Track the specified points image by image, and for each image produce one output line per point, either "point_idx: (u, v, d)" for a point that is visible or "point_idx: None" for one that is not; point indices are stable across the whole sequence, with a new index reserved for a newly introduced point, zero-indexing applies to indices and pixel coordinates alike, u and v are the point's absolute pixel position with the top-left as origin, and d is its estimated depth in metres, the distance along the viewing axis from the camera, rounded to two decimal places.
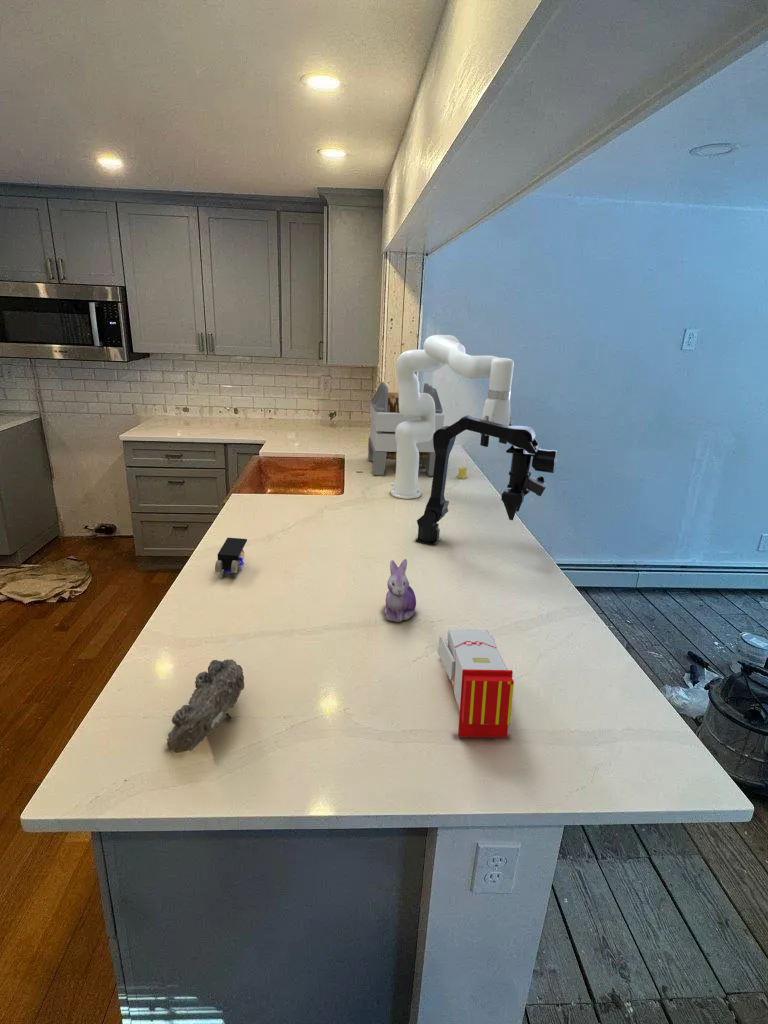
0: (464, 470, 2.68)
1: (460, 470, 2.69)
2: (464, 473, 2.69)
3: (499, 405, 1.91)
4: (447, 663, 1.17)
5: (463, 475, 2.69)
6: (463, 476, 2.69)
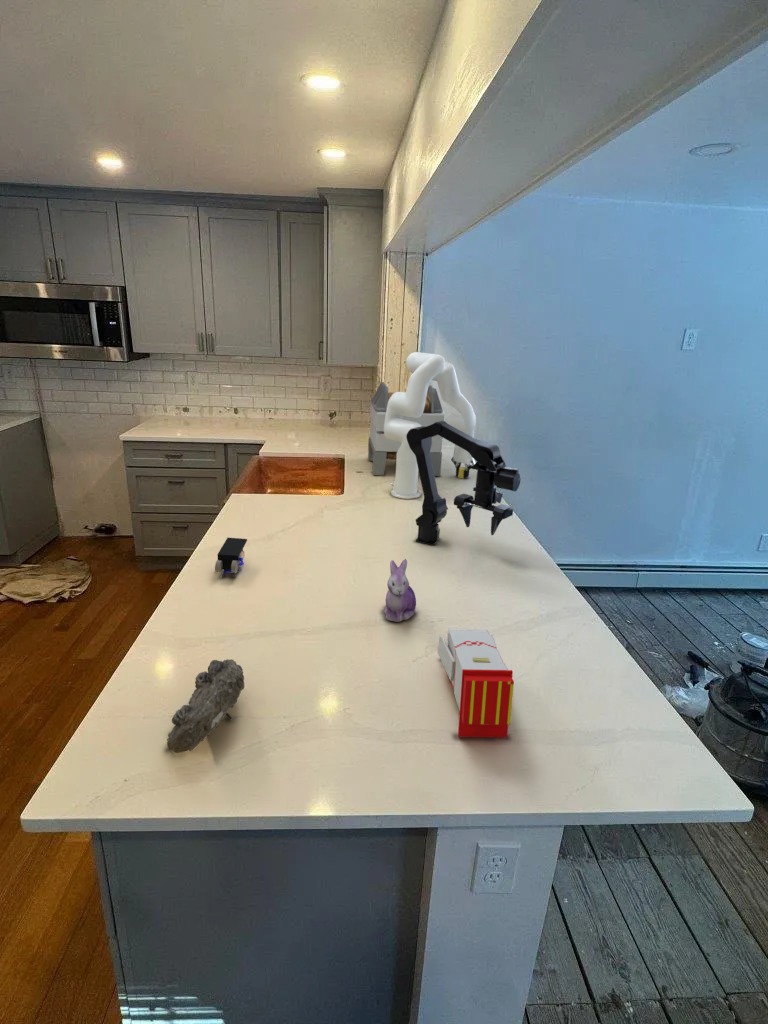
0: None
1: (460, 470, 2.69)
2: None
3: None
4: (447, 663, 1.17)
5: (463, 475, 2.69)
6: (463, 476, 2.69)
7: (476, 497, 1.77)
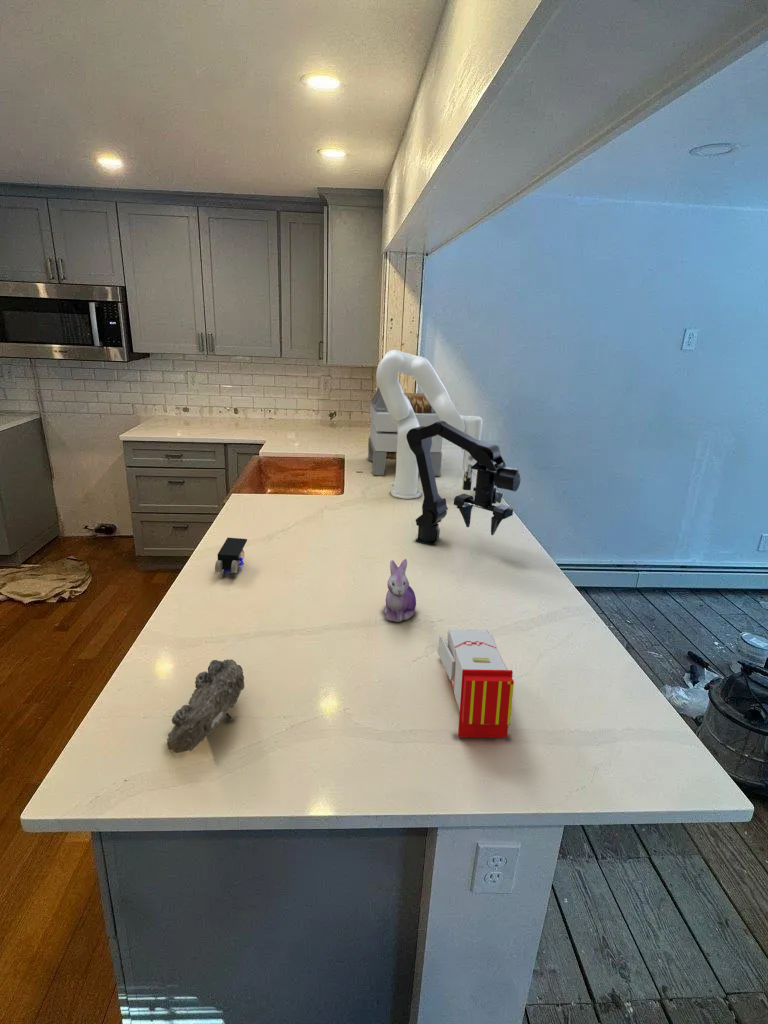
0: None
1: (463, 480, 2.40)
2: None
3: None
4: (447, 663, 1.17)
5: None
6: None
7: (476, 497, 1.77)
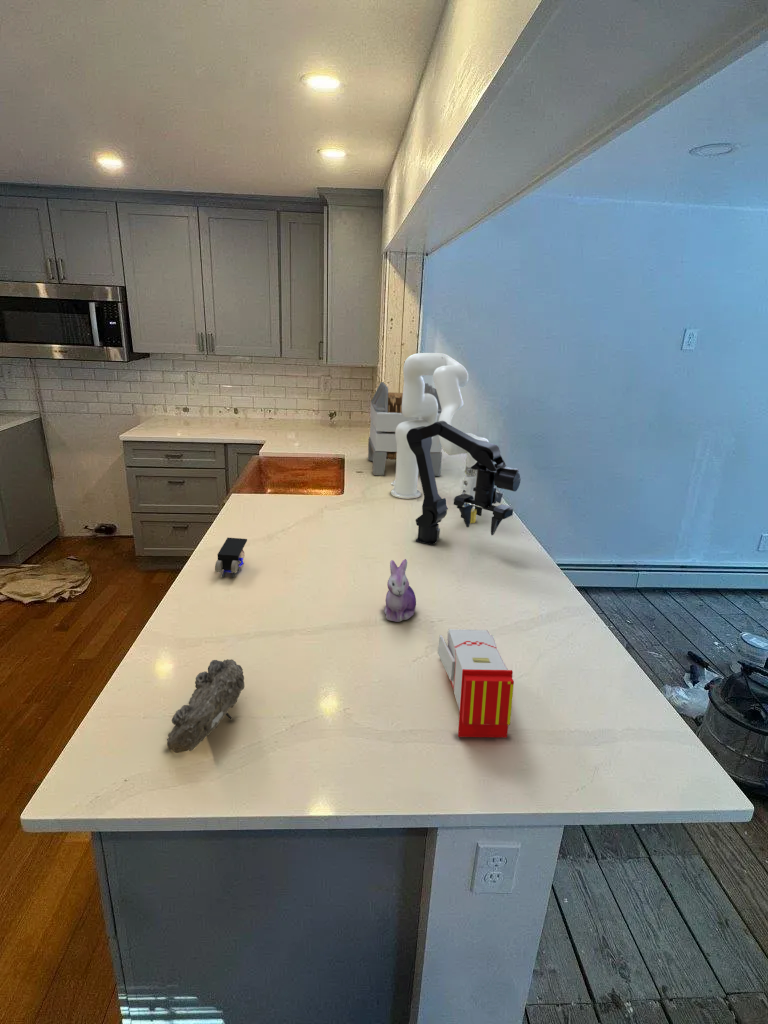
0: None
1: None
2: None
3: None
4: (447, 663, 1.17)
5: None
6: None
7: (476, 497, 1.77)
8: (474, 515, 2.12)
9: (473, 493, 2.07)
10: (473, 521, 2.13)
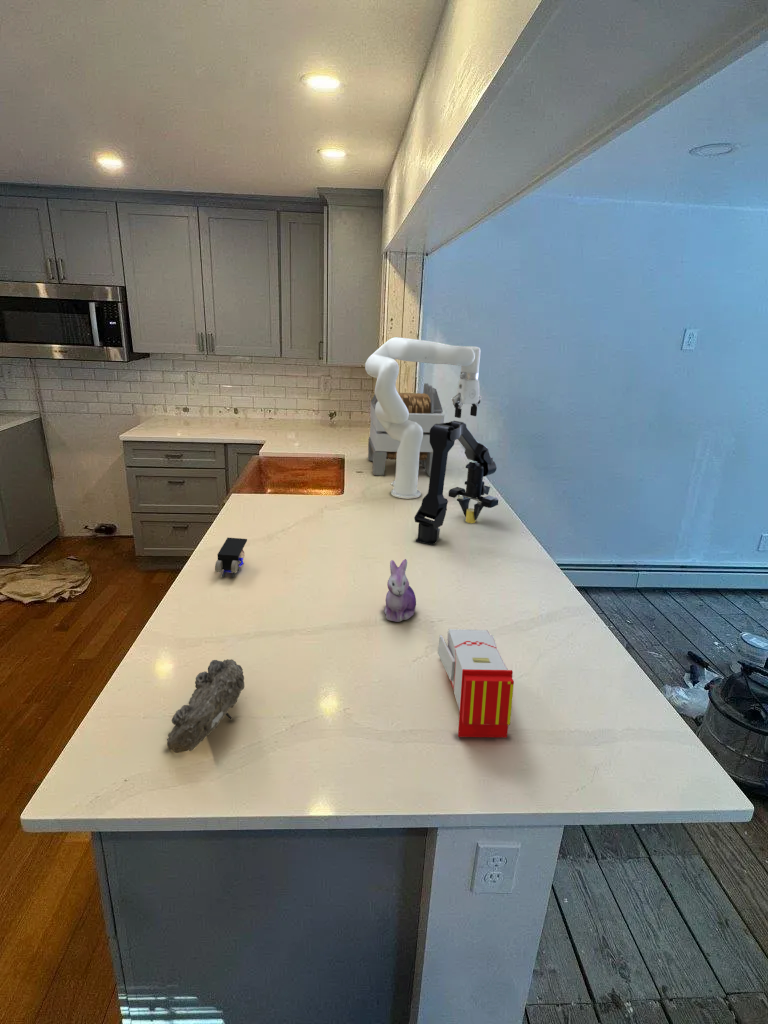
0: (466, 511, 2.13)
1: None
2: (466, 515, 2.14)
3: None
4: (447, 663, 1.17)
5: (466, 517, 2.14)
6: None
7: (467, 489, 2.09)
8: None
9: (467, 395, 2.40)
10: (473, 521, 2.13)
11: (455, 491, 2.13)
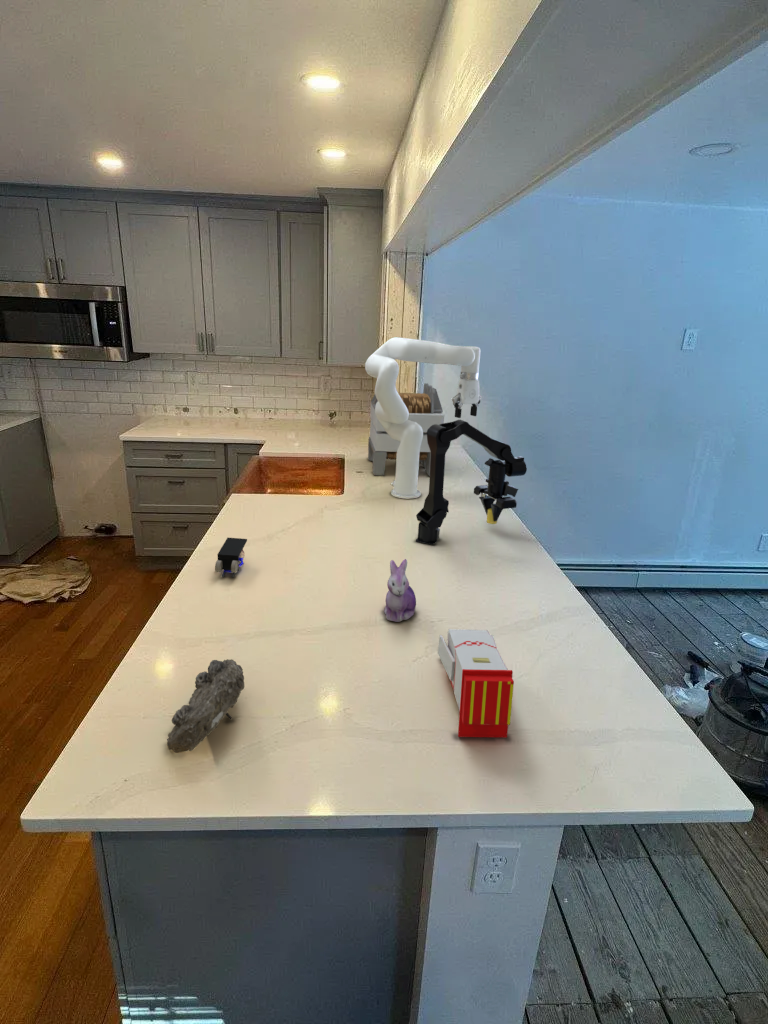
0: None
1: None
2: (487, 515, 2.03)
3: None
4: (447, 663, 1.17)
5: None
6: None
7: (487, 487, 1.99)
8: None
9: (467, 395, 2.40)
10: (492, 522, 2.02)
11: (479, 488, 2.05)
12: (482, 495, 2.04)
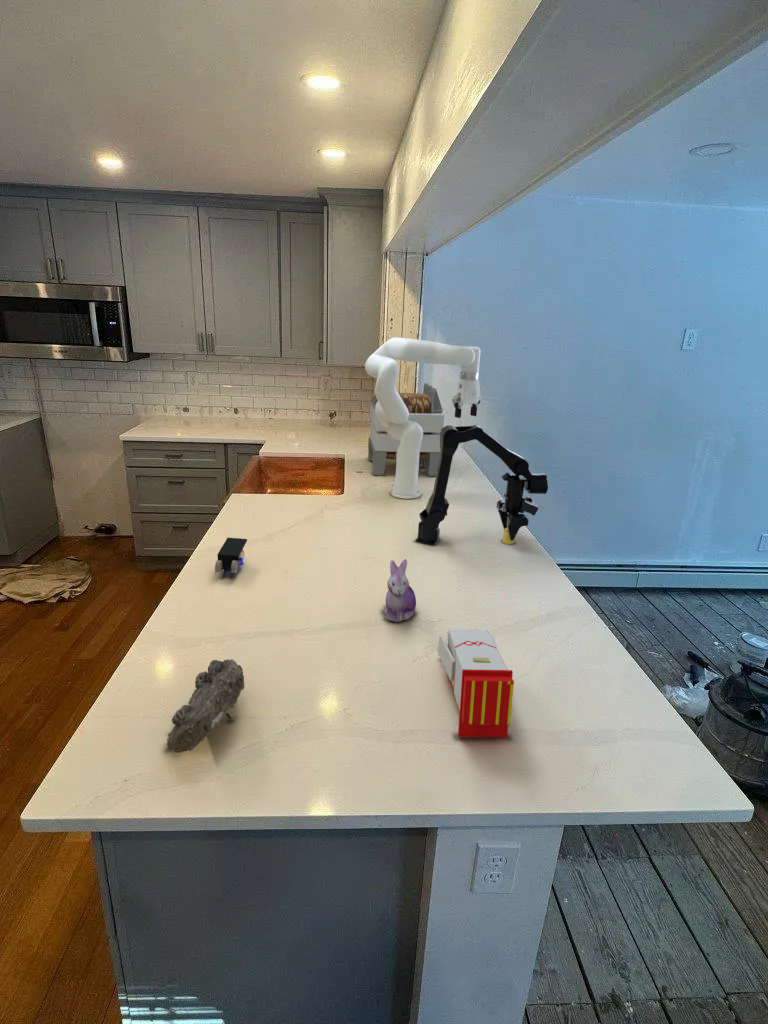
0: None
1: None
2: None
3: None
4: (447, 663, 1.17)
5: None
6: None
7: None
8: None
9: (467, 395, 2.40)
10: (507, 542, 1.95)
11: (500, 502, 1.99)
12: None
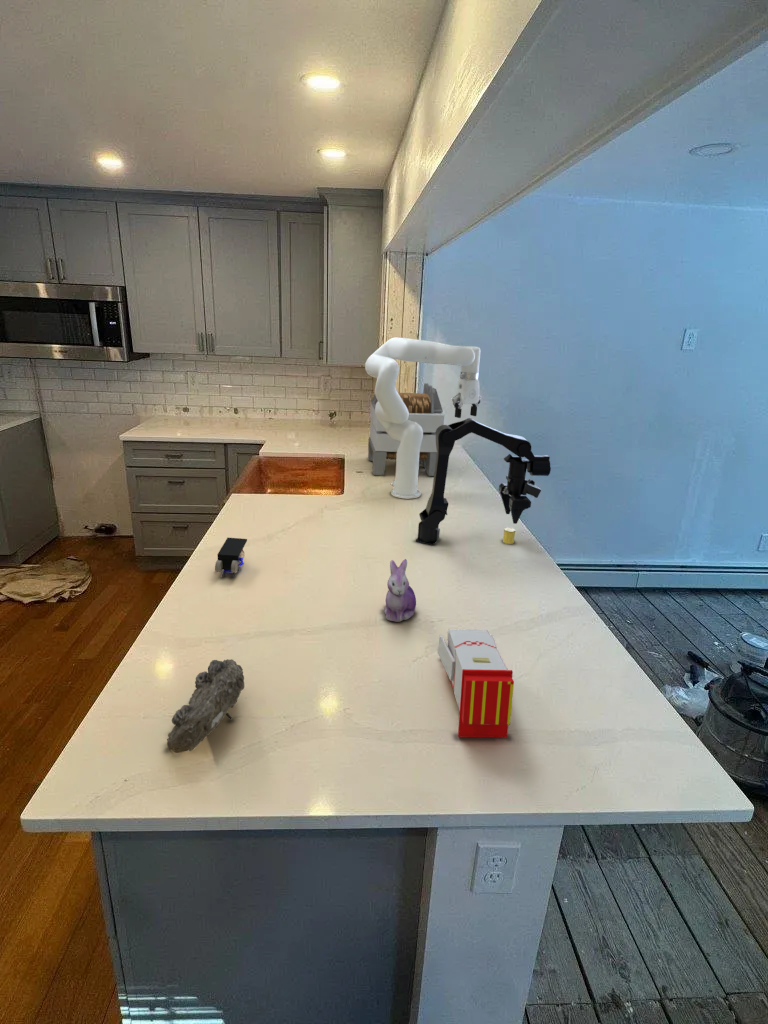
0: None
1: None
2: None
3: None
4: (447, 663, 1.17)
5: None
6: None
7: None
8: (509, 535, 1.94)
9: (467, 395, 2.40)
10: (507, 542, 1.95)
11: (502, 485, 1.97)
12: None
